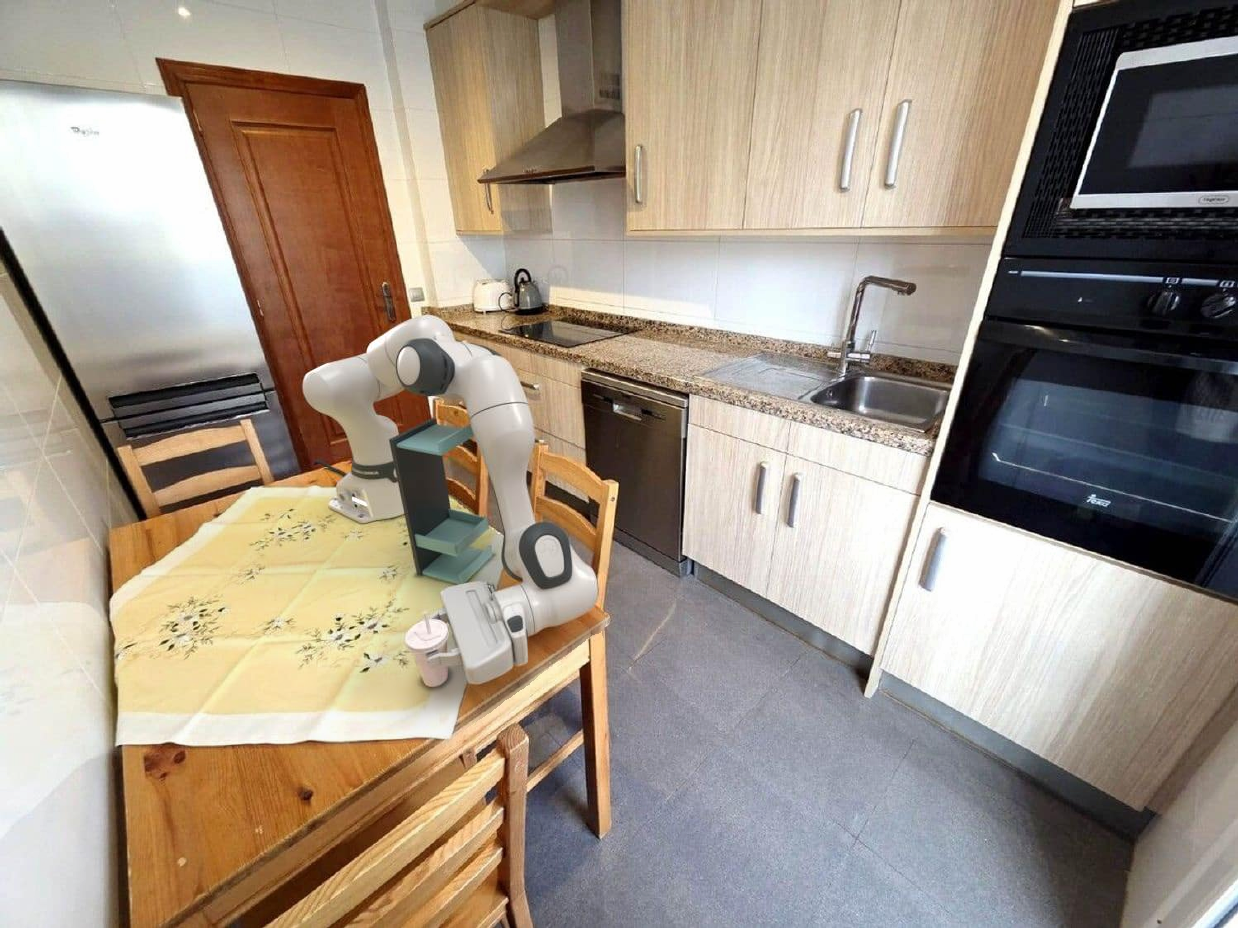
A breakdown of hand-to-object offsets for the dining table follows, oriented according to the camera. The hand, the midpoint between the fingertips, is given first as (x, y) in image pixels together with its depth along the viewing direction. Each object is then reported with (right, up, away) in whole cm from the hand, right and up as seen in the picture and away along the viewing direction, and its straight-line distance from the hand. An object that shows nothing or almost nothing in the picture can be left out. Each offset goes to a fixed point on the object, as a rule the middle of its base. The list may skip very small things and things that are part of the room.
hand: (422, 644), depth 78 cm
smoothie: (+1, -7, +4) cm, 8 cm away
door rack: (-5, +7, +31) cm, 32 cm away
